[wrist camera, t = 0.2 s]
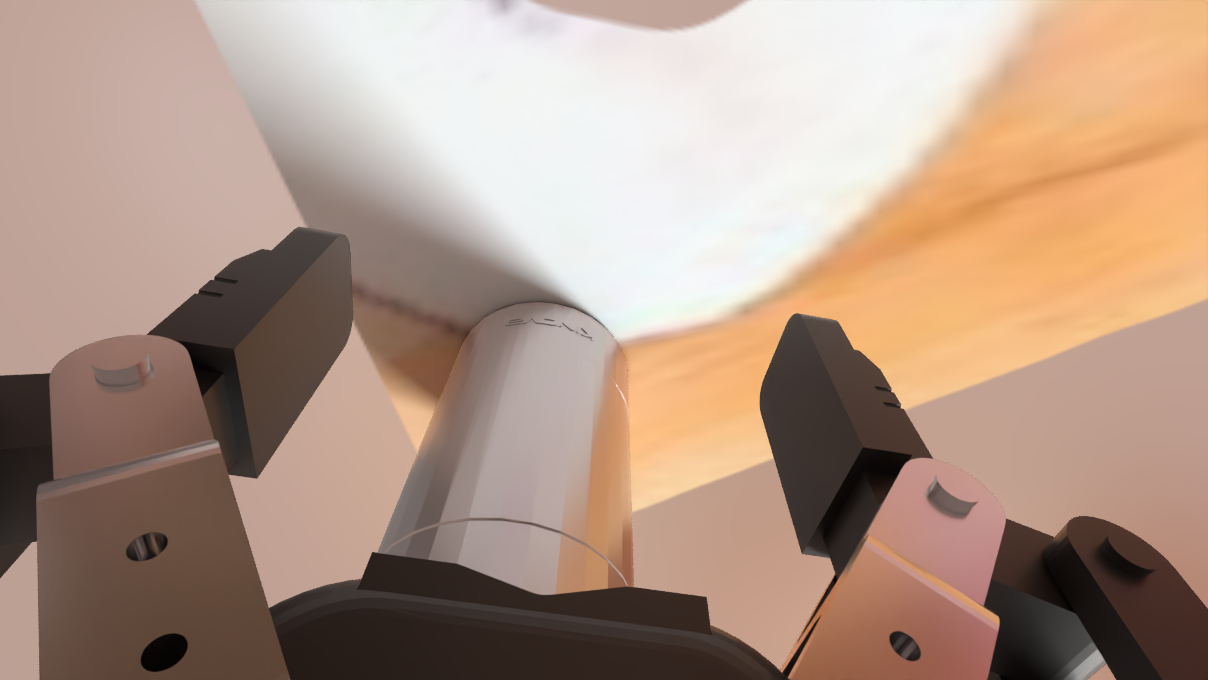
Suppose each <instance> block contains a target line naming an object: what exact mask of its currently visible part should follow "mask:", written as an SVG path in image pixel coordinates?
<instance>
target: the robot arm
mask: <svg viewBox="0 0 1208 680" xmlns="http://www.w3.org/2000/svg"><path fill="white" fill-rule="evenodd" d="M352 320H353V301H352V280H351V258H350V245H349V241H348V239H347V237H346V236H345V235H343V234H338V233H332V232H326V231H320V230H315V229H309V228H303V227H298V228H296V229H294V230H293V231H292V232H291V233H290V234H289V235H288V236H287V237H286V238H285V239H284V240H282V241H281V242H280V243H279V244H278V245H277V246H276V247H275V248H274V249H273V250H272V251H270V250H264V249H262V250H259V251H256V252H254V253H251V254H249V255H246V256H244V257H241V258H239V259H236V260H234V261H233V262H231V263H230V264H229V265H228V266H227V267H225V268H224V269H223V270H222V271H221V272H220V273H218V274H217V275H216V276H215V279H214V280H210V281H209V282H208V283H207V284H205V285H204V286H203V287H202V288H201V289H200V290H199V293H198V294H194V295H193V296H191V297H190V298H189V299H188V300H187V301H185V302H184V303H183V304H182V305H181V306H180V307H178V308H177V309H176V310H175V311H174V312H173V313H171V314H170V315H169V316H168V317H167V318H165V319H164V320H163V321H162V322H161V323H160V324H158V325H157V326H156V327H155V328H154V329H153V330H151V331H150V332H149V333H148V334H147V335H126V336H119V337H113V338H108V339H104V340H101V341H97V342H94V343H91V344H88V345H85V346H83V347H81V348H79V349H77V350H75V351H73V352H71V353H70V354H68V355H67V356H65V357H64V358H63V359H62V360H60V361H59V362H58V363H57V364H56V366H55V367H54V368H53V370H52V372H51V373H47V374H31V375H29V374H28V375H5V376H0V578H1V577H2V576H3V574H4V573H5V572H6V571H7V570H8V569H9V568H10V567H11V565H12V564H13V563H14V562H15V561H16V559H18V557H19V556H20V555H21V554H22V553H23V552H24V550H25V549H26V548H27V547H28V546H29V545H30V544H31V543H32V542H36V541H37V563H38V613H39V615H38V616H39V666H40V667H39V668H40V669H39V671H40V680H1088V679H1089V678H1090V677H1091V676H1092V675H1094V674H1095V673H1096V672H1097V671H1098V670H1100V669H1101V668H1102V667H1103V666H1104V665H1106V664H1107V665H1108V667H1109V668H1110V670H1111V672H1112V673H1113V675H1114V677H1115V678H1116V680H1208V609H1207V607H1206V606H1205V605H1204V604H1203V602H1201V600H1200V599H1199V598H1198V596H1197V595H1196V594H1195V593H1194V591H1193V590H1192V589H1191V588H1190V586H1189V585H1188V584H1187V583H1186V582H1185V580H1184V579H1183V578H1182V577H1181V575H1180V574H1179V573H1178V572H1177V570H1176V569H1175V568H1174V567H1173V566H1172V565H1171V564H1170V563H1169V561H1168V560H1167V559H1166V558H1165V557H1164V556H1162V555H1161V554H1160V553H1159V552H1158V551H1157V550H1156V549H1154V548H1153V547H1152V546H1151V545H1149V544H1148V543H1147V542H1145V541H1144V540H1142V539H1141V538H1139V537H1138V536H1136V535H1135V534H1133V533H1131V532H1130V531H1128V530H1126V529H1124V528H1122V527H1120V526H1118V525H1115V524H1113V523H1111V522H1108V521H1105V520H1102V519H1098V518H1095V517H1088V516H1079V517H1075V518H1073V519H1071V520H1070V521H1069V522H1068V523H1067V524H1066V525H1065V526H1064V527H1063V528H1062V530H1061V531H1060V532H1059V533H1058V534H1057V535H1056V536H1055V537H1053V536H1050V535H1047V534H1045V533H1042V532H1040V531H1037V530H1034V529H1032V528H1029V527H1027V526H1024V525H1021V524H1019V523H1016V522H1014V521H1011V520H1008V519H1006V517H1005V512H1004V510H1003V508H1002V506H1001V504H1000V503H999V501H998V499H997V498H996V497H995V496H994V494H993V493H992V492H991V491H990V490H989V489H988V488H987V487H986V486H985V485H984V484H982V483H981V482H980V481H979V480H977V479H976V478H974V477H973V476H972V475H970V474H969V473H967V472H965V471H964V470H962V469H960V468H958V467H956V466H954V465H951V464H949V463H946V462H943V461H939V460H936V459H933V458H932V456H931V454H930V453H929V451H928V449H927V448H926V446H925V444H924V443H923V441H922V439H921V438H920V436H919V434H918V432H917V431H916V429H915V427H914V426H913V424H912V422H911V421H910V419H909V417H908V416H907V414H906V412H905V411H904V409H901V408H900V407H901V404H900V402H899V400H898V399H897V397H896V395H895V394H894V393H893V392H891V387H890V385H889V384H888V382H887V380H886V378H885V377H884V375H883V373H882V372H881V370H880V369H879V368H878V367H877V366H876V365H875V364H874V363H872V362H871V361H870V360H869V359H868V358H867V357H866V356H865V355H864V354H862V353H861V352H860V351H857V350H854V349H853V347H852V345H851V344H850V342H849V340H848V338H847V336H846V335H845V333H844V331H843V329H842V327H841V326H840V324H839V323H838V322H837V321H836V320H832V319H826V318H821V317H815V316H809V315H803V314H798V313H797V314H794V315H793V316H792V317H791V318H790V319H789V321H788V322H787V325H786V327H785V329H784V332H783V334H782V336H781V339H780V341H779V344H778V346H777V348H776V351H775V353H774V356H773V358H772V360H771V363H770V365H769V368H768V370H767V372H766V375H765V377H764V380H763V383H762V387H761V392H760V411H761V415H762V419H763V422H764V425H765V429H766V432H767V436H768V439H769V443H770V446H771V449H772V453H773V456H774V460H775V463H776V466H777V469H778V473H779V477H780V480H781V484H782V487H783V491H784V494H785V497H786V501H787V504H788V508H789V511H790V515H791V518H792V521H793V525H794V528H795V531H796V535H797V538H798V542H799V545H800V549H801V552H802V554H806V555H814V556H820V557H827V558H830V559H831V562H832V565H833V568H834V570H835V575H834V576H833V578H832V579H831V581H830V582H829V584H828V586H827V588H826V589H825V591H824V593H823V594H822V596H821V598H820V600H819V602H818V603H817V605H816V607H815V609H814V610H813V612H812V614H811V616H810V617H809V619H808V621H807V623H806V625H805V626H804V628H803V630H802V632H801V633H800V635H799V637H798V639H797V640H796V642H795V644H794V646H793V648H792V649H791V651H790V653H789V655H788V656H787V658H786V660H785V661H784V663H783V665H782V667H781V668H780V670H779V669H777V667H776V666H775V665H773V664H772V663H771V662H770V661H769V660H767V659H766V658H765V657H764V656H762V655H761V654H760V653H759V652H758V651H756V650H755V649H753V648H752V647H750V646H749V645H747V644H746V643H744V642H742V641H741V640H740V639H738V638H736V637H734V636H732V635H730V634H728V633H727V632H725V631H723V630H721V629H719V628H716V627H714V626H711V625H710V620H709V612H708V604H707V598H706V597H702V596H695V595H687V594H680V593H672V592H665V591H657V590H650V589H643V588H635V587H634V570H633V539H632V538H633V537H632V502H631V468H630V435H629V396H628V370H627V366H626V362H625V358H624V354H623V352H622V351H621V349H620V347H619V345H618V343H617V341H616V340H615V339H614V338H613V336H612V335H611V334H610V333H609V332H608V331H607V329H606V328H605V327H603V326H602V325H601V324H599V323H598V322H597V321H595V320H594V319H593V318H592V317H590V316H588V315H586V314H584V313H582V312H580V311H578V310H576V309H573V308H570V307H566V306H562V305H559V304H555V303H543V302H530V303H521V304H515V305H512V306H509V307H505V308H502V309H499V310H497V311H495V312H494V313H492V314H490V315H488V316H487V317H485V318H483V319H482V320H481V321H480V322H479V323H478V324H477V325H476V326H475V327H473V328H472V329H471V331H470V332H469V334H468V335H467V337H466V338H465V340H464V341H463V343H462V345H461V348H460V350H459V353H458V355H457V358H456V360H455V363H454V365H453V368H452V370H451V373H450V375H449V378H448V380H447V383H446V385H445V387H444V389H443V391H442V394H441V396H440V399H439V401H438V404H437V406H436V409H435V411H434V414H433V416H432V419H431V421H430V423H429V426H428V428H427V431H426V433H425V436H424V438H423V441H422V443H421V446H420V448H419V451H418V453H417V456H416V458H415V461H414V463H413V466H412V468H411V471H410V473H409V475H408V478H407V480H406V483H405V485H404V488H403V490H402V493H401V496H400V498H399V500H398V503H397V505H396V508H395V510H394V513H393V515H392V518H391V520H390V522H389V525H388V527H387V530H386V532H385V535H384V537H383V540H382V542H381V545H380V547H379V550H378V552H377V553H375V552H372V554H371V557H370V560H369V562H368V564H367V567H366V569H365V572H364V575H363V577H362V579H358V580H349V581H344V582H340V583H334V584H330V585H325V586H322V587H319V588H316V589H313V590H309V591H306V592H303V593H301V594H298V595H296V596H294V597H291V598H289V599H286V600H284V601H282V602H280V603H278V604H276V605H274V606H272V607H270V608H268V604H267V601H266V597H265V594H264V591H263V587H262V584H261V581H260V578H259V574H258V571H257V568H256V564H255V561H254V558H253V554H252V551H251V548H250V545H249V541H248V538H247V535H246V531H245V528H244V525H243V522H242V518H241V515H240V511H239V508H238V505H237V502H236V498H235V495H234V492H233V488H232V485H231V482H230V479H229V475H236V476H243V477H250V478H258V476H259V475H260V474H261V472H262V471H263V469H264V467H265V466H266V464H267V463H268V461H269V460H270V458H271V457H272V455H273V454H274V452H275V451H276V449H277V448H278V446H279V445H280V443H281V442H282V440H283V439H284V437H285V436H286V434H287V433H288V431H289V429H290V428H291V427H292V425H293V424H294V422H295V421H296V419H297V418H298V416H299V415H300V413H301V412H302V410H303V409H304V407H305V406H306V404H307V403H308V401H309V400H310V398H311V397H312V395H313V394H314V392H315V390H316V389H317V388H318V386H319V385H320V383H321V382H322V380H323V379H324V377H325V376H326V374H327V373H328V371H329V370H330V368H331V366H332V365H333V363H334V362H335V360H336V359H337V357H338V356H339V354H340V353H341V351H342V350H343V348H344V347H345V345H346V343H347V341H348V338H349V335H350V331H351V327H352ZM228 474H229V475H228Z"/></svg>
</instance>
